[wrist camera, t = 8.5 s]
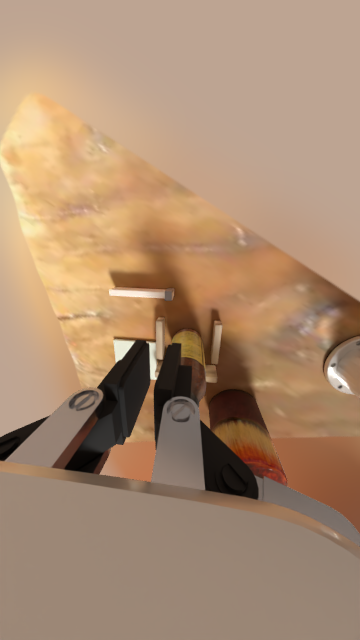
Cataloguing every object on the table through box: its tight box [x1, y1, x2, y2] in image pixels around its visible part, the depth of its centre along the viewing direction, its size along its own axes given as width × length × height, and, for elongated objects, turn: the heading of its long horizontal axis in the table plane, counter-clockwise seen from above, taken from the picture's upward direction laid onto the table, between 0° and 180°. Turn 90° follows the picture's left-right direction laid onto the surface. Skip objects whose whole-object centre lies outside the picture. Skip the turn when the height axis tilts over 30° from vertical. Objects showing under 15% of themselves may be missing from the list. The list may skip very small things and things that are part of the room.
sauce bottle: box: [171, 329, 206, 408], centre depth 26 cm, size 7×6×20 cm
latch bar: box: [109, 287, 174, 301], centre depth 31 cm, size 11×2×3 cm, turn 88°
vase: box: [209, 390, 287, 486], centre depth 30 cm, size 11×11×20 cm
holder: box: [155, 317, 222, 383], centre depth 34 cm, size 12×11×4 cm
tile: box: [113, 339, 157, 380], centre depth 38 cm, size 9×9×1 cm
